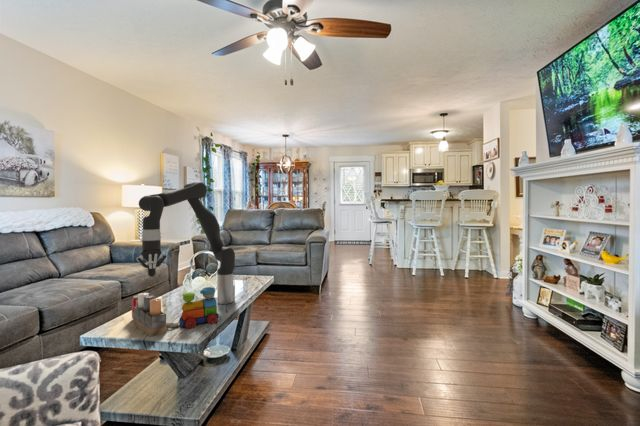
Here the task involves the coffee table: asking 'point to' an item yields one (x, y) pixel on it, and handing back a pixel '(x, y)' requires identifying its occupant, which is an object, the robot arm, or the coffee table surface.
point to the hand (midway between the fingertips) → (151, 276)
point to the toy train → (198, 309)
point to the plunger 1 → (141, 300)
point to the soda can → (134, 304)
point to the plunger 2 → (155, 307)
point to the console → (150, 322)
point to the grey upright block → (147, 303)
